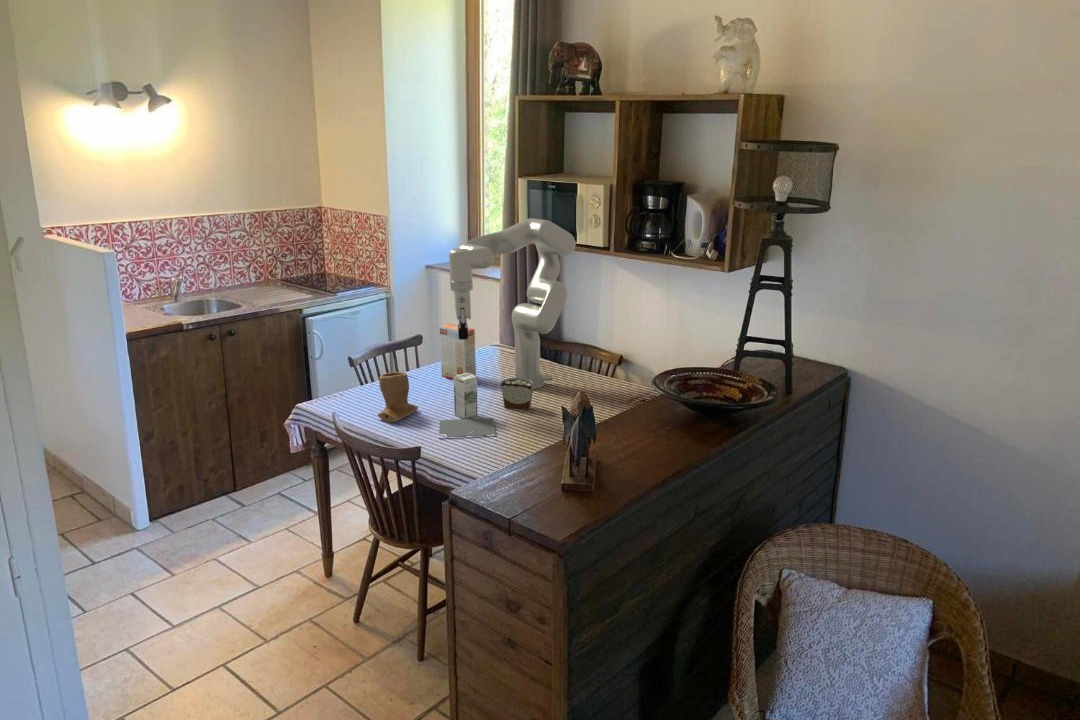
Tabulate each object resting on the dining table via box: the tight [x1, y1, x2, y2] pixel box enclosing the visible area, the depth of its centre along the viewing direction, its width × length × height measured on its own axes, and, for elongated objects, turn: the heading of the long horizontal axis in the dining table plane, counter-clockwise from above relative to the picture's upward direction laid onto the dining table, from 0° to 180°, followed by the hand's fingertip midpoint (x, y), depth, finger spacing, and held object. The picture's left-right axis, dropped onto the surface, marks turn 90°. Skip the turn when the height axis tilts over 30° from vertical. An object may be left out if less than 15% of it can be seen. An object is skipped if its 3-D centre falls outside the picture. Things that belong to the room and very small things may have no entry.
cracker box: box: [439, 323, 477, 381], centre depth 306 cm, size 14×6×21 cm, turn 49°
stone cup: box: [377, 371, 419, 423], centre depth 269 cm, size 15×12×15 cm
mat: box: [438, 417, 497, 437], centre depth 260 cm, size 18×15×1 cm
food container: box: [499, 377, 534, 412], centre depth 277 cm, size 12×6×10 cm, turn 71°
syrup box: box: [453, 373, 478, 419], centre depth 269 cm, size 6×6×14 cm
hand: (463, 336), depth 273 cm, fingers open, 4 cm apart
